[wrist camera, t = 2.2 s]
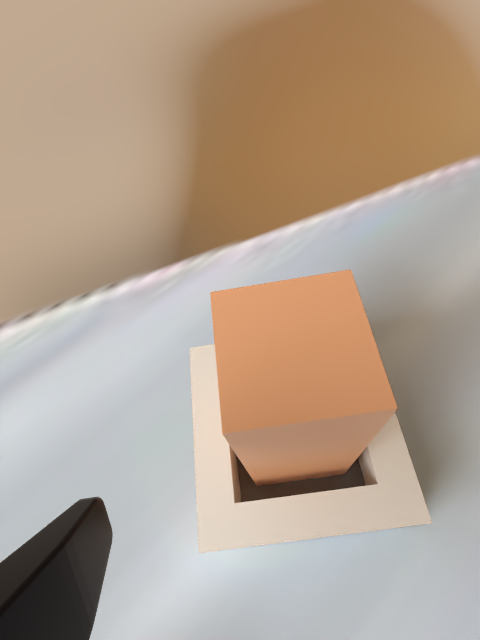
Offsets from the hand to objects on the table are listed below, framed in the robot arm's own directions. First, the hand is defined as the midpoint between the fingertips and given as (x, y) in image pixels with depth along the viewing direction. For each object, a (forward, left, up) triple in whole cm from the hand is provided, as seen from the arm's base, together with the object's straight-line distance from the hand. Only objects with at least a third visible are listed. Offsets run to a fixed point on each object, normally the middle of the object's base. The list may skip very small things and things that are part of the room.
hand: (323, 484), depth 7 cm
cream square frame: (+3, -2, -10) cm, 11 cm away
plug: (+3, -2, -10) cm, 11 cm away
